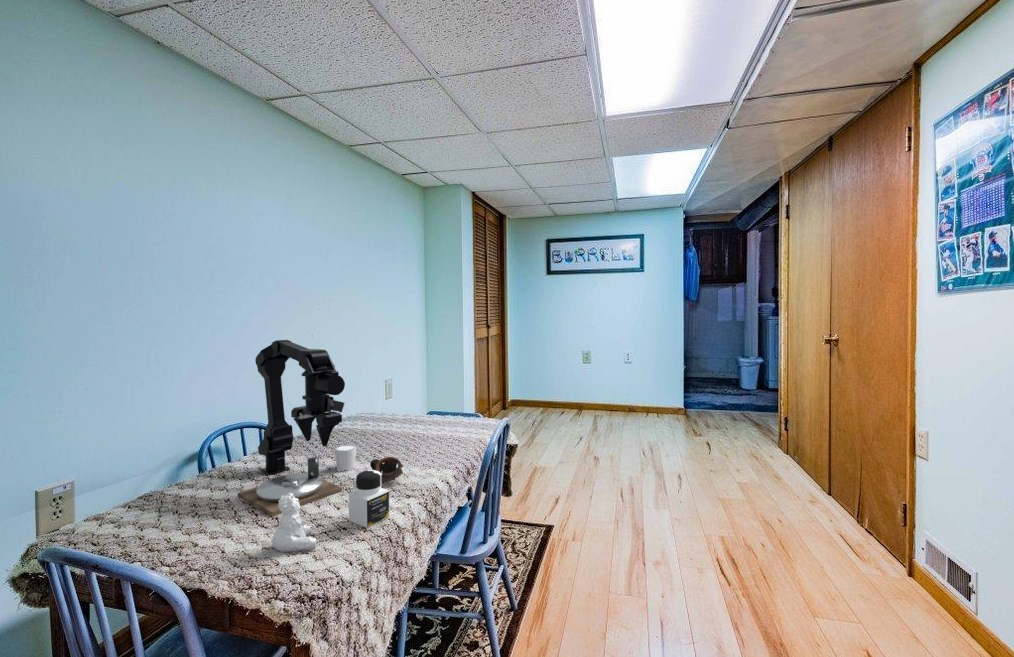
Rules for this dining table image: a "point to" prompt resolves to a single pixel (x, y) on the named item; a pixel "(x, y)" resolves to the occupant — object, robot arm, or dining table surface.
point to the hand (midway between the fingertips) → (316, 443)
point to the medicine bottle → (368, 500)
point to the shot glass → (345, 457)
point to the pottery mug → (387, 468)
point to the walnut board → (272, 507)
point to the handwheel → (292, 484)
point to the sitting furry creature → (292, 528)
